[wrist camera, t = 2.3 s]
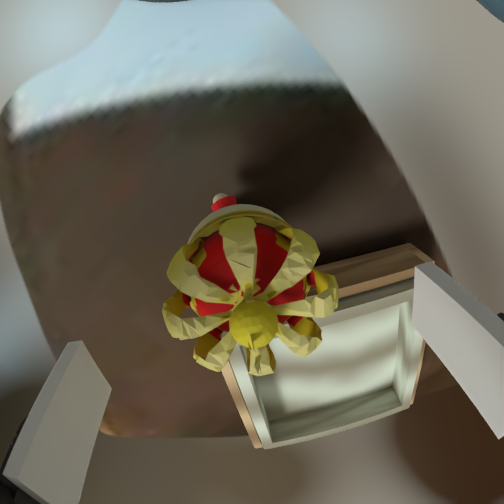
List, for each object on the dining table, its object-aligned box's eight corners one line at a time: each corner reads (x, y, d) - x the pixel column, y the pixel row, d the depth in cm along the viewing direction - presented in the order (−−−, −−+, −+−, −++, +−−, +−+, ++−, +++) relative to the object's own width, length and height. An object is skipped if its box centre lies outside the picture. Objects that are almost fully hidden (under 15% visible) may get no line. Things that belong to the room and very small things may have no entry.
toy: (173, 201, 22) (96, 325, 8) (263, 157, 21) (334, 216, 7) (218, 280, 25) (215, 448, 11) (301, 242, 24) (385, 386, 10)
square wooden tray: (205, 292, 25) (201, 328, 20) (409, 242, 25) (441, 266, 20) (252, 420, 32) (255, 455, 27) (399, 380, 32) (416, 409, 27)
